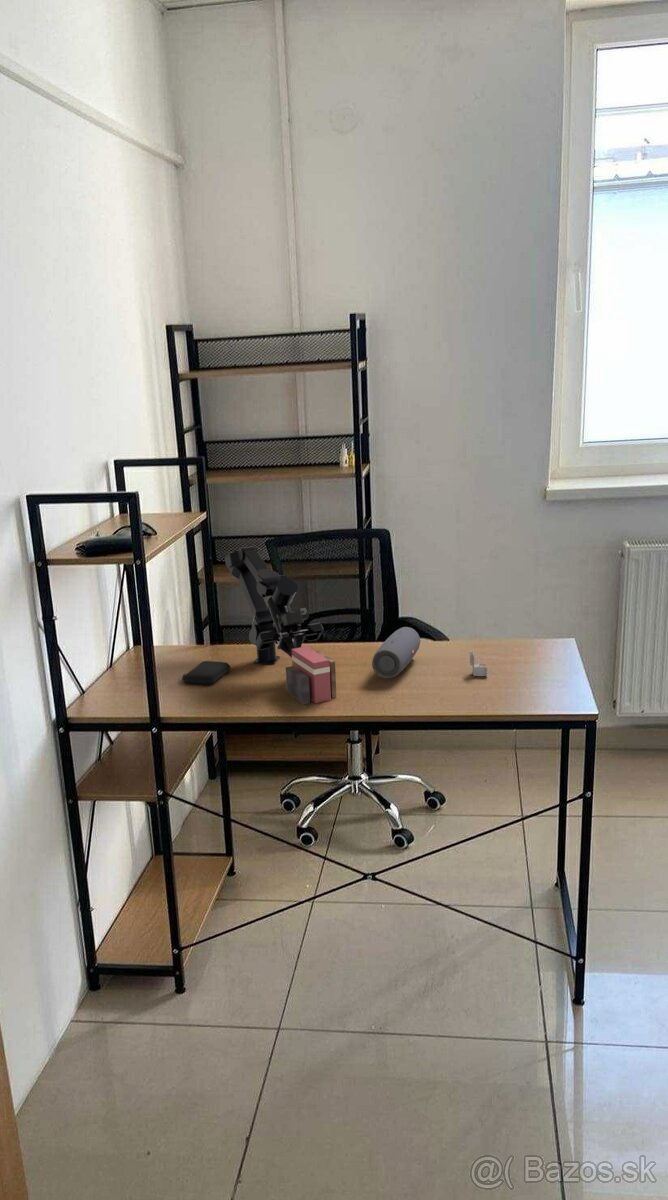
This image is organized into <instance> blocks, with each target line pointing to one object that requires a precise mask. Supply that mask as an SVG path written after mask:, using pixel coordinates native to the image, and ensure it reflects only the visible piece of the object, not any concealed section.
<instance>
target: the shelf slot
mask: <svg viewBox="0 0 668 1200" xmlns="http://www.w3.org/2000/svg"><path fill="white" fill-rule="evenodd" d="M314 651H315V652H317V653H319V654H320V655H322V656H323V657H325V658H327V659H328V660H329V664H330V689H331V699H334V698H337V677H336V661H335V660H334V659H332V658H331V657H328V656H327V655H326V654H324V653H322V652H321V651H319V650H314ZM285 677H286V678H285V679H286V693H288V694H289V695H290V696H292V697H293V698H294V699H295V700H297V701H298V702H299V703H300V704H302V705H305V704H310V703H311V700H310V691H309V677H308V676H306V675H305V674H303V673H302V672H300V671H299V670H297V669H296V668H295V667H293V666H292V665H291V666H287V667H285Z"/></svg>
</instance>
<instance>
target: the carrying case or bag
mask: <svg viewBox="0 0 668 1200" xmlns="http://www.w3.org/2000/svg"><path fill="white" fill-rule="evenodd" d="M230 670H231V665H230V664H229V663H228V662H224V661H213V660H211V661H209V660H208V661H207V660H205V661H202V662H200V663H199V664H198V665H196V666H195V667H193V668H192V669H191V670H190V671H188V672H187V673H184V674H183V675H182V677H181V680H182V681H183V682H184V683H186V685H193V686H194V685H195V686H197V685H198V686H212V685H214V684H215V683H217V681H219V680H220V679H221V678H223V677H224V676H225V675H226V674H227V673H228V672H229V671H230Z"/></svg>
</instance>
